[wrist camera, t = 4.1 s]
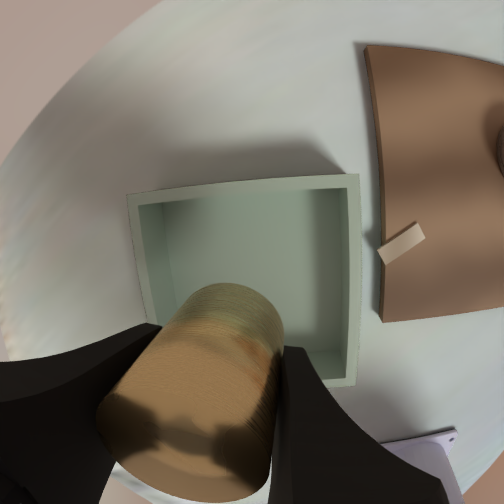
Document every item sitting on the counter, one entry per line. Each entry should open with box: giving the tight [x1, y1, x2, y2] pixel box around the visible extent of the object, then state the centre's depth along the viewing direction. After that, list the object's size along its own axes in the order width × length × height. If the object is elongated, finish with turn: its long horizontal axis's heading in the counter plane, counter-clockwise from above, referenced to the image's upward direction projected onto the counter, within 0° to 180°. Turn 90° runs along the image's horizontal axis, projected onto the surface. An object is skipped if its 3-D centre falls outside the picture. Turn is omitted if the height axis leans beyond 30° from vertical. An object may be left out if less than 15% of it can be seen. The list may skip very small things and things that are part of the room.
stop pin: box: [96, 283, 284, 503], centre depth 8 cm, size 4×4×6 cm
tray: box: [126, 174, 362, 388], centre depth 17 cm, size 11×11×4 cm
